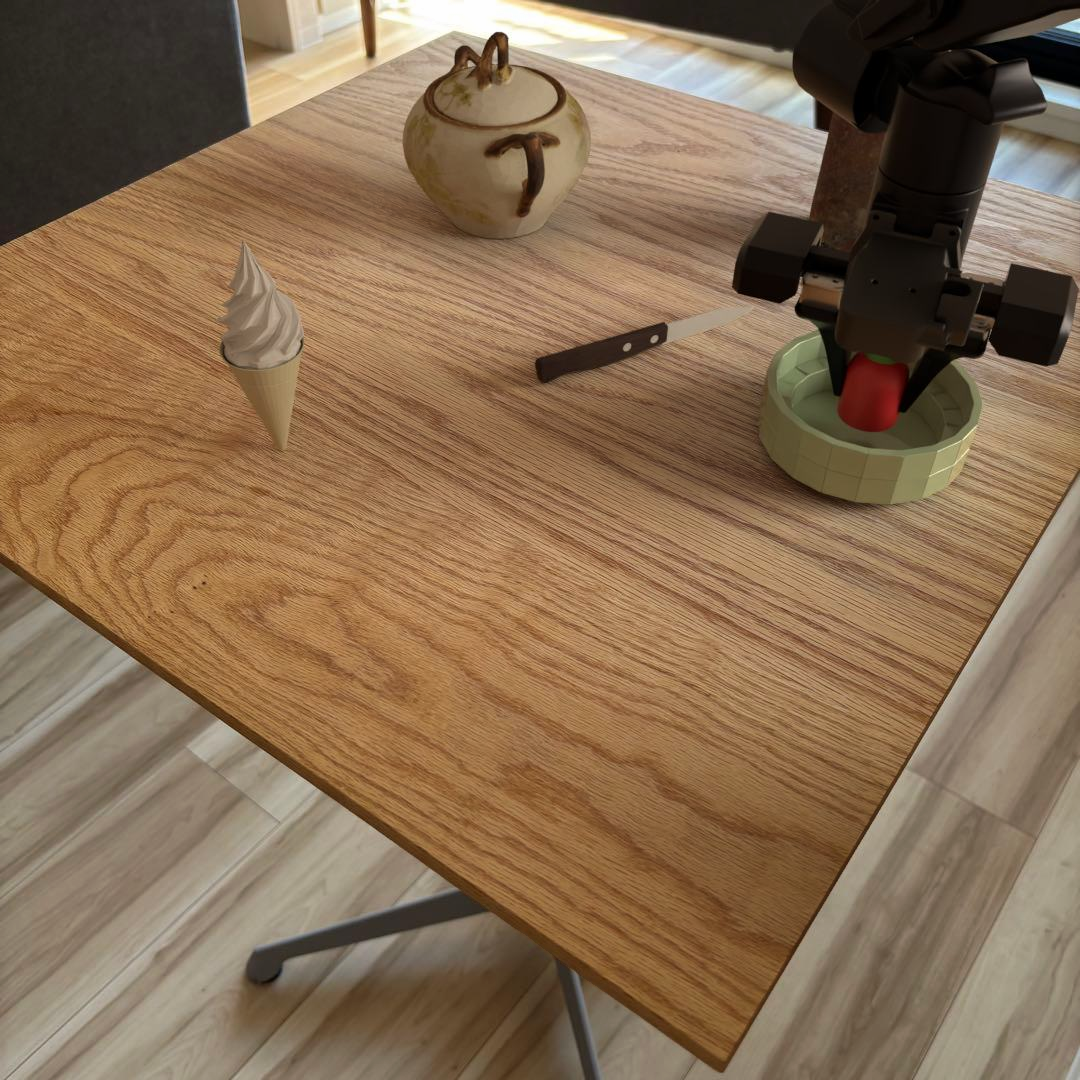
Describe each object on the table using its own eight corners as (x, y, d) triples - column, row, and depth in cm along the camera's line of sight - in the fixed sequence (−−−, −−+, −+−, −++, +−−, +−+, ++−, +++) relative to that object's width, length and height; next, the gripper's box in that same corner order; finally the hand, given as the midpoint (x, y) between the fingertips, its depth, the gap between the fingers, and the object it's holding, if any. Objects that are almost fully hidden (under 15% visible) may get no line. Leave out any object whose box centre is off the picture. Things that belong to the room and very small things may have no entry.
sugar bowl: (626, 259, 90) (639, 70, 79) (444, 292, 86) (433, 98, 76) (543, 150, 103) (545, -25, 93) (382, 174, 100) (366, -4, 89)
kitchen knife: (539, 388, 78) (539, 364, 77) (532, 380, 79) (532, 357, 77) (756, 321, 84) (760, 298, 83) (749, 314, 85) (752, 291, 83)
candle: (917, 256, 91) (989, -6, 77) (838, 274, 89) (898, 8, 75) (864, 211, 96) (923, -42, 82) (788, 227, 94) (835, -30, 80)
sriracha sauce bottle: (902, 404, 73) (922, 335, 70) (891, 438, 71) (911, 369, 67) (844, 389, 74) (861, 321, 71) (830, 423, 72) (847, 354, 68)
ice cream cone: (336, 436, 74) (305, 230, 64) (293, 483, 71) (253, 274, 60) (272, 415, 76) (231, 210, 65) (226, 460, 72) (176, 252, 62)
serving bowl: (976, 410, 77) (996, 355, 74) (943, 535, 68) (964, 479, 65) (786, 362, 80) (797, 308, 77) (732, 475, 72) (742, 420, 69)
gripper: (721, 201, 58) (689, 436, 69) (1104, 283, 53) (1004, 523, 64) (778, 114, 65) (741, 340, 76) (1120, 179, 60) (1028, 411, 71)
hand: (870, 400), depth 72 cm, fingers closed on sriracha sauce bottle, 4 cm apart
